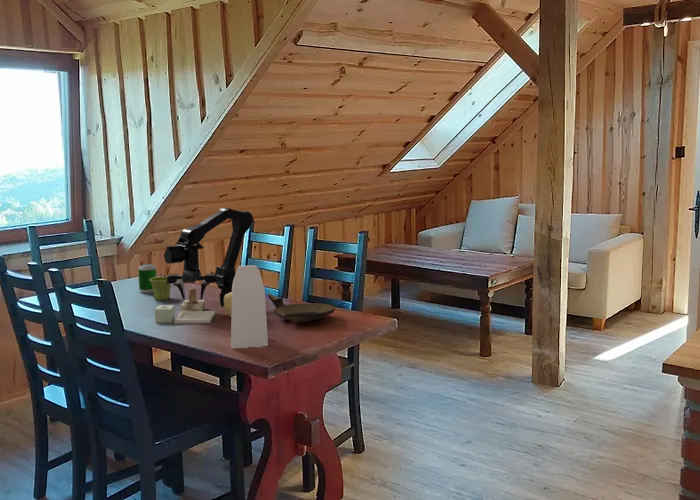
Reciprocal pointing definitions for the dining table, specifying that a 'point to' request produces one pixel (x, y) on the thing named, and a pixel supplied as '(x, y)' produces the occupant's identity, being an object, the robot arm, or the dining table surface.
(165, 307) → the narrow bore block
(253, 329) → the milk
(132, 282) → the dining table surface
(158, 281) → the plant pot
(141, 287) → the soda can
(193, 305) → the wide bore block
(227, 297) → the sculpture
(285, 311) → the oil lamp
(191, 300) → the dowel pin
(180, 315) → the tray
